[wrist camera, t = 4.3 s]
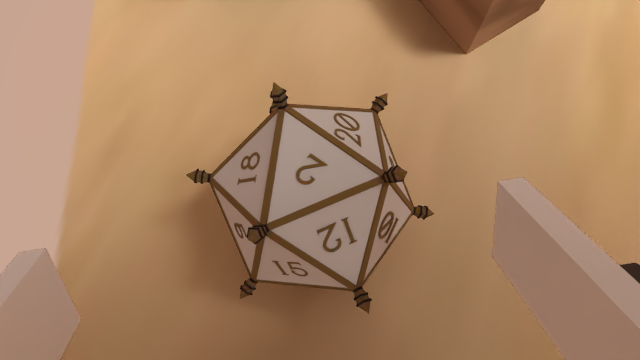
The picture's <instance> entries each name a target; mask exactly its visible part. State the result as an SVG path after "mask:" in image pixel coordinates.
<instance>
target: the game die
mask: <svg viewBox="0 0 640 360" xmlns="http://www.w3.org/2000/svg"><path fill="white" fill-rule="evenodd" d="M285 92H286V90H284V89H282V88H281V87H279V86H278V85H277V84H275V83H273V89H272V91H271V94H270V98H273V103H272V106H271V107H270V112H269V113H270V115H269V116H268V117H267V118H266V119H265V120H264V121H263V122H262V123H261V124H260V125H259V126H258V127H257V128H256V129H255V130H254V131H253V132H252V133H251V134H250V135H249V136H248V137H247V138H246V139H245V140H244V141H243V142H242V143H241V144H240V145H239V146H238V147H237V148H236V149H235V150H234V151H233V152H232V153H231V155H230V156H229V157H228V158H227V159H226V160H225V161H224V162H223V163H222V164H221V165H220V166H219V167H218V168H217V169H216V170H215V171H214V172H213V173H212V174H208V173H206V172H205V170H203V171H199V169H197V170H196V171H194V172H191V173H189V174H187V176H188V177H189V178H191V179H192V180H193V181H194V183H197V182H201V184H203V182H209V183H210V185H211V187H212V189H213V192H214V194H215V196H216V199H217V201H218V203H219V206H220V208H221V210H222V213H223V215H224V217H225V220H226V222H227V224H228V227H229V229H230V231H231V234H232V236H233V238H234V240H235V243H236V245H237V247H238V250H239V252H240V254H241V257H242V259H243V261H244V264H245V266H246V268H247V271H248V273H249V275H250V279H248V280H247V281H246V280H245V281H244V284H243V286H242V285H241V287H240V289H241V294H240V299H241V298H243V297H245V296H248V295H252V292H253V290H255V289H256V288H255V286H256V283H257V282H263V283H274V284H284V285H295V286H305V287H316V288H326V289H337V290H347V291H353V292H354V295H355V298H354V300H356V302H357V305H356V306H357V307H360V308H362V309H363V310H364V311H366V312H367V313H368V314H369V308H370V301H371V300H372V299H371V298H370V299H369V297H368V292H367V293H366V292H365V291H364V290H363V288H362V286H363V285H364V283H365V282H366V280H367V279H368V277H369V276H370V275H371V273H372V272H373V270H374V269H375V267H376V266H377V265H378V263H379V262H380V260H381V259H382V257H383V256H384V254H385V253H386V252H387V250H388V249H389V247H390V246H391V244H392V243H393V242H394V240H395V239H396V237H397V236H398V234H399V233H400V231H401V230H402V229H403V227H404V226H405V224H406V223H407V221H408V220H409V219H410V217H411V216H412V215H415V216H417V218H423V219H425V218H426V217H428V216H431V215H433V214H434V213H433V212H432V211H431V210H429V209H428V207H426V206H424V207H422V206H419V205H418V207H414V206H413V203H412V200H411V198H410V195H409V193H408V190H407V188H406V185H405V183H404V177H405V175H406V174H407V171H405V170H403V169H402V168H400V167H399V166H398V165H397V162H396V160H395V157H394V155H393V152H392V150H391V147H390V144H389V142H388V139H387V137H386V134H385V132H384V129H383V127H382V124H381V121H380V119H379V116H378V112H379V111H381V110H383V109H384V106H386V105H387V94H384V95H381V96H379V97H377V96H376V97H375V98H376V99H375V101H373V102H372V103H373V105H372V108H371V109H360V108H344V107H329V106H313V105H297V104H287V98H288V96H286V94H285Z"/></svg>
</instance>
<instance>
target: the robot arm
mask: <svg viewBox="0 0 640 360" xmlns="http://www.w3.org/2000/svg"><path fill="white" fill-rule="evenodd" d="M492 257H493V259H494V260H495V261H496V263H497V264H498V266H499V267H500V269H501V270H502V271H503V273H504V274H505V276H506V277H507V278H508V280H509V281H510V283H511V284H512V286H513V287H514V288H515V290H516V291H517V293H518V294H519V295H520V297H521V298H522V300H523V301H524V303H525V304H526V305H527V307H528V308H529V310H530V311H531V312H532V314H533V315H534V317H535V318H536V320H537V321H538V322H539V324H540V325H541V327H542V328H543V330H544V331H545V332H546V334H547V335H548V337H549V338H550V339H551V341H552V342H553V344H554V345H555V347H556V348H557V349H558V351H559V352H560V354H561V355H562V356H563V358H564V359H565V360H640V265H639V264H637V263H630V264H624V265H619V264H617V263H616V262H615V261H614V260H613V259H612V258H611V257H610V256H609V255H608V254H607V253H605V252H604V251H603V250H602V249H601V248H600V247H599V246H598V245H597V244H596V243H595V242H593V241H592V240H591V239H590V238H589V237H588V236H587V235H586V234H585V233H584V232H583V231H581V230H580V229H579V228H578V227H577V226H576V225H575V224H574V223H573V222H572V221H571V220H570V219H568V218H567V217H566V216H565V215H564V214H563V213H562V212H561V211H560V210H559V209H558V208H556V207H555V206H554V205H553V204H552V203H551V202H550V201H549V200H548V199H547V198H546V197H544V196H543V195H542V194H541V193H540V192H539V191H538V190H537V189H536V188H535V187H534V186H532V185H531V184H530V183H529V182H528V181H527V180H526V179H525V178H524V177H522V178H516V179H509V180H502V181H498V185H497V199H496V213H495V226H494V240H493V254H492ZM80 321H81V318H80V316H79V314H78V312H77V310H76V308H75V306H74V304H73V302H72V300H71V298H70V296H69V294H68V292H67V290H66V288H65V285H64V283H63V281H62V279H61V277H60V275H59V273H58V271H57V269H56V267H55V265H54V263H53V261H52V259H51V257H50V255H49V253H48V251H47V249H46V248H44V249H37V250H30V251H24V252H19V253H18V254H17V255H16V257H15V258H14V259H13V260H12V261H11V262H10V263H9V265H8V266H7V267H6V268H5V269H4V271H3V272H2V273H1V274H0V360H60V359H61V357H62V355H63V353H64V351H65V349H66V347H67V346H68V344H69V342H70V340H71V338H72V336H73V334H74V332H75V330H76V328H77V327H78V325H79V323H80Z"/></svg>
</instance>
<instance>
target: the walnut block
mask: <svg viewBox="0 0 640 360" xmlns="http://www.w3.org/2000/svg"><path fill="white" fill-rule="evenodd" d="M544 1H545V0H420V2H421V3H422V4H423V5H424V6H425V7H426V9H427V10H428V11H429V12H430V13H431V14H432V15H433V17H434V18H435V19H436V20H437V21H438V22H439V24H440V25H441V26H442V27H443V28H444V29H445V31H446V32H447V33H448V34H449V35H450V36H451V37H452V39H453V40H454V41H455V42H456V43H457V44H458V46H459V47H460V48H461V49H462V50H463V51H464V53H465V54H468V53H469V52H471V51H473V50H474V49H476V48H477V47H479V46H481V45H482V44H484V43H486V42H487V41H489V40H491V39H492V38H494V37H495V36H497V35H499V34H500V33H502V32H504V31H505V30H507V29H509V28H510V27H512V26H513V25H515V24H517V23H518V22H520V21H522V20H523V19H525V18H526V17H528V16H530V15H531V14H533V13H535V12H536V11H538V10H539V9H540V7H541V6H542V4H543V3H544Z"/></svg>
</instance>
